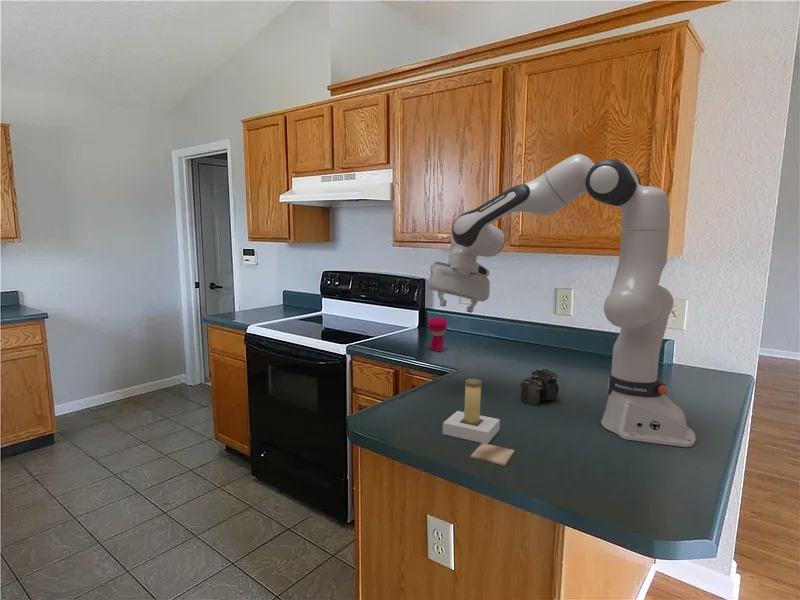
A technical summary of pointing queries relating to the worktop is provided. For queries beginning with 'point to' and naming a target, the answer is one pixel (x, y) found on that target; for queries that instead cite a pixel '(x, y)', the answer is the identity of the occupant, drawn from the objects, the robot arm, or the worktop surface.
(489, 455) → the mat
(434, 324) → the toy
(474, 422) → the plug
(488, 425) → the socket block
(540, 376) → the camera
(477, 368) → the worktop surface
